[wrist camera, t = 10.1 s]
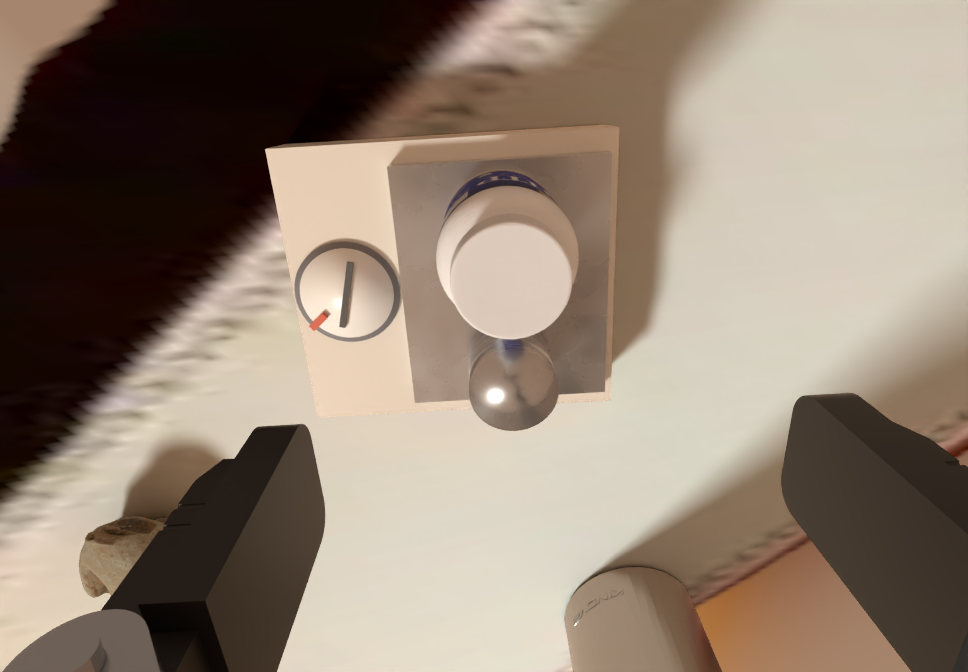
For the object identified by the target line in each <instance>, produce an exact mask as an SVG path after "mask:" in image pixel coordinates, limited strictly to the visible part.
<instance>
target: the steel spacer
mask: <svg viewBox="0 0 968 672" xmlns="http://www.w3.org/2000/svg"><path fill="white" fill-rule="evenodd" d="M558 396H559V382H558V378H557V375H556V372H555V369H554V366H553V363H552V360H551V357H550V354H549V351H548V348H547V345H546V342H545V340H544V338H543V336H542V334H541V333H540V332H538V333H536V334H534V335H531V336H529V337H525V338H520V339H500V338H495V337H492V336H489V335H486V334H484V333H482V332H480V331H478V332H477V333H476V334H475V336H474V337H473V339H472V341H471V344H470V347H469V398H470V402H471V405H472V407H473V409H474V411H475V413H476V414H477V415H478V416H479V417H480V419H482V420H483V421H484V422H485V423H487V424H489V425H490V426H492V427H495V428H498V429H501V430H508V431H518V430H524V429H528V428H530V427H533V426H535V425H537V424H539V423H540V422H542V421H543V420H544V419H545V418H547V417H548V415H549V414H550V413H551V412H552V410H553V409H554V407H555V405H556V403H557V400H558Z"/></svg>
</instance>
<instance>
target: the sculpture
mask: <svg viewBox="0 0 968 672" xmlns="http://www.w3.org/2000/svg"><path fill="white" fill-rule="evenodd" d="M167 519H168V518H163V517H161V518H158V519H156V520H151V519H148V518H145V517H139V516H132V517H126V518H122V519H119V520H116V521H113V522H111V523H108V524H105V525H103V526H100V527H98V528H96V529H95V530H94V531H93V532H91V533H88V535H87V537H86V538H85V543H84V546H83V548H82V550H81V554H80V559H79V571H80V576H81V581H82V584H83V587H84V590H85V591H86V592H87V594H88V595H90V596H92V597H93V598H94V597H98V596H100V595H102V594H104V593H110V594H111V596H112V594H113V593H114V592H115V590H116V589H117V588H118V586H119V585H120V583H121V582H122V581H123V579H124V578H125V577H126V575H127V574H128V573H129V571H130V570H131V568H132V567H133V566H134V564H135V563H136V562H137V560H138V559H139V557H140V556H141V555H142V553H143V552H144V551H145V549H146V548H147V546H148V545H149V544H150V542H151V541H152V540H153V538H154V537H155V535H156V534H157V533H158V531H160V530H163V524H164V523H165V522H166V520H167Z"/></svg>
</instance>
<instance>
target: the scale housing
mask: <svg viewBox="0 0 968 672" xmlns="http://www.w3.org/2000/svg"><path fill="white" fill-rule="evenodd" d="M619 129H620V127H616V126H610V125H589V126H573V127H556V128H540V129H524V130H508V131H491V132H475V133H459V134H443V135H426V136H410V137H394V138H378V139H361V140H345V141H329V142H312V143H296V144H284V145H280V146H276V147H272V148H268V149H265V150H266V155H267V160H268V166H269V171H270V176H271V181H272V186H273V191H274V196H275V201H276V206H277V211H278V216H279V222H280V227H281V232H282V237H283V242H284V247H285V252H286V257H287V262H288V267H289V272H290V278H291V283H292V288H293V293H294V298H295V303H296V308H297V313H298V318H299V323H300V329H301V334H302V339H303V344H304V349H305V354H306V359H307V364H308V369H309V374H310V379H311V385H312V390H313V395H314V400H315V405H316V410H317V415H318V417H333V416H350V415H367V414H384V413H402V412H419V411H436V410H453V409H470V408H473V407H472V405H471V402H470V400H458V401H441V402H424V403H415V399H414V391H413V382H412V374H411V366H410V357H409V349H408V340H407V332H406V324H405V315H404V307H403V298H402V290H401V281H400V273H399V265H398V256H397V248H396V239H395V231H394V222H393V214H392V206H391V197H390V189H389V180H388V172H387V166H388V165H392V164H408V163H425V162H441V161H457V160H474V159H490V158H506V157H523V156H539V155H555V154H572V153H588V152H604V151H609V152H611V153H612V168H611V203H610V237H609V272H608V307H607V341H606V376H605V392H595V393H578V394H561V395H559V396H558V400H557V403H573V402H590V401H607V400H611V369H612V339H613V309H614V279H615V249H616V219H617V189H618V159H619Z"/></svg>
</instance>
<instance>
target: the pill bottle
mask: <svg viewBox="0 0 968 672" xmlns="http://www.w3.org/2000/svg"><path fill="white" fill-rule="evenodd" d="M578 262H579V252H578V243H577V239H576V235H575V233H574V230H573V228H572V225H571V223H570V221H569V220H568V218H567V217H566V215H565V214H564V212H563V211H562V210H561V209H560V207H559V206H558V205H557V203H556V202H555V201H554V200H553V198H552V197H551V196H550V194H549V193H548V192H547V191H546V190H545V188H544V187H543V186H542V185H541V184H539V183H538V182H537V181H536V180H534V179H533V178H531V177H530V176H528V175H526V174H523V173H521V172H517V171H513V170H492V171H487V172H484V173H481V174H479V175H477V176H475V177H473V178H471V179H470V180H468V181H467V182H466V183H465V184H463V185H462V186H461V187H460V188H459V190H458V191H457V192H456V193H455V195H454V196H453V198H452V200H451V201H450V203H449V206H448V208H447V211H446V214H445V217H444V220H443V223H442V226H441V230H440V234H439V238H438V242H437V250H436V264H437V271H438V275H439V279H440V282H441V284H442V286H443V288H444V291H445V292H446V294H447V295H448V297H449V298H450V300H451V301H452V302H453V303H454V304H455V306H456V308H457V309H458V311H459V313H460V314H461V315H462V317H463V318H464V319H465V320H466V321H467V322H468V323H469V324H470V325H471V326H472V327H474V328H475V329H477V330H479V331H480V332H482V333H484V334H486V335H489V336H492V337H495V338H500V339H520V338H525V337H529V336H531V335H534V334H536V333H538V332H540V331H542V330H544V329H546V328H547V327H548V326H550V325H551V324H552V323H553V322H554V321H555V320H556V319H557V318H558V317H559V316H560V314H561V313H562V312H563V310H564V308H565V307H566V305H567V302H568V300H569V297H570V294H571V290H572V285H573V283H574V280H575V277H576V274H577V269H578Z"/></svg>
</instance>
